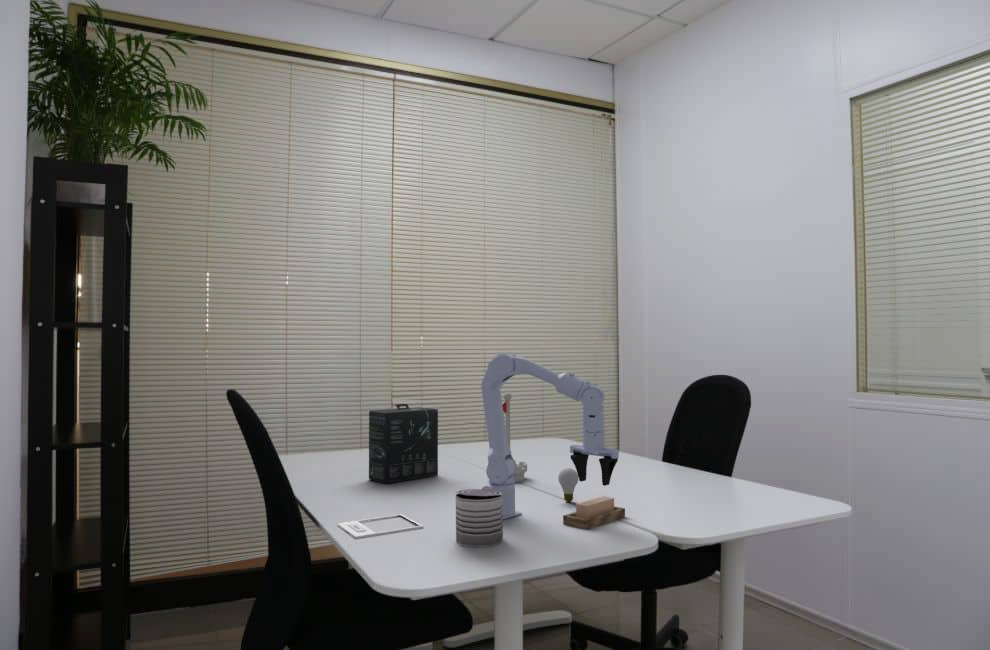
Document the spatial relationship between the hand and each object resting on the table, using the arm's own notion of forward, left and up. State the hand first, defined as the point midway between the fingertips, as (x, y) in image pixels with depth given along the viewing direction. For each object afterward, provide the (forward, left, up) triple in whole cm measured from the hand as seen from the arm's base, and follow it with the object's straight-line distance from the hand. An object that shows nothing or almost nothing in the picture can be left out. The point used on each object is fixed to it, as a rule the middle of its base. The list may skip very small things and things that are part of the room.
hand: (594, 482), depth 180 cm
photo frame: (-42, +37, -10) cm, 57 cm away
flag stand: (+25, +55, -10) cm, 61 cm away
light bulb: (+12, +18, -10) cm, 24 cm away
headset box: (+2, +84, -10) cm, 85 cm away
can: (-33, +9, -10) cm, 36 cm away
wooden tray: (0, 0, -10) cm, 10 cm away
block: (0, 0, -9) cm, 9 cm away
